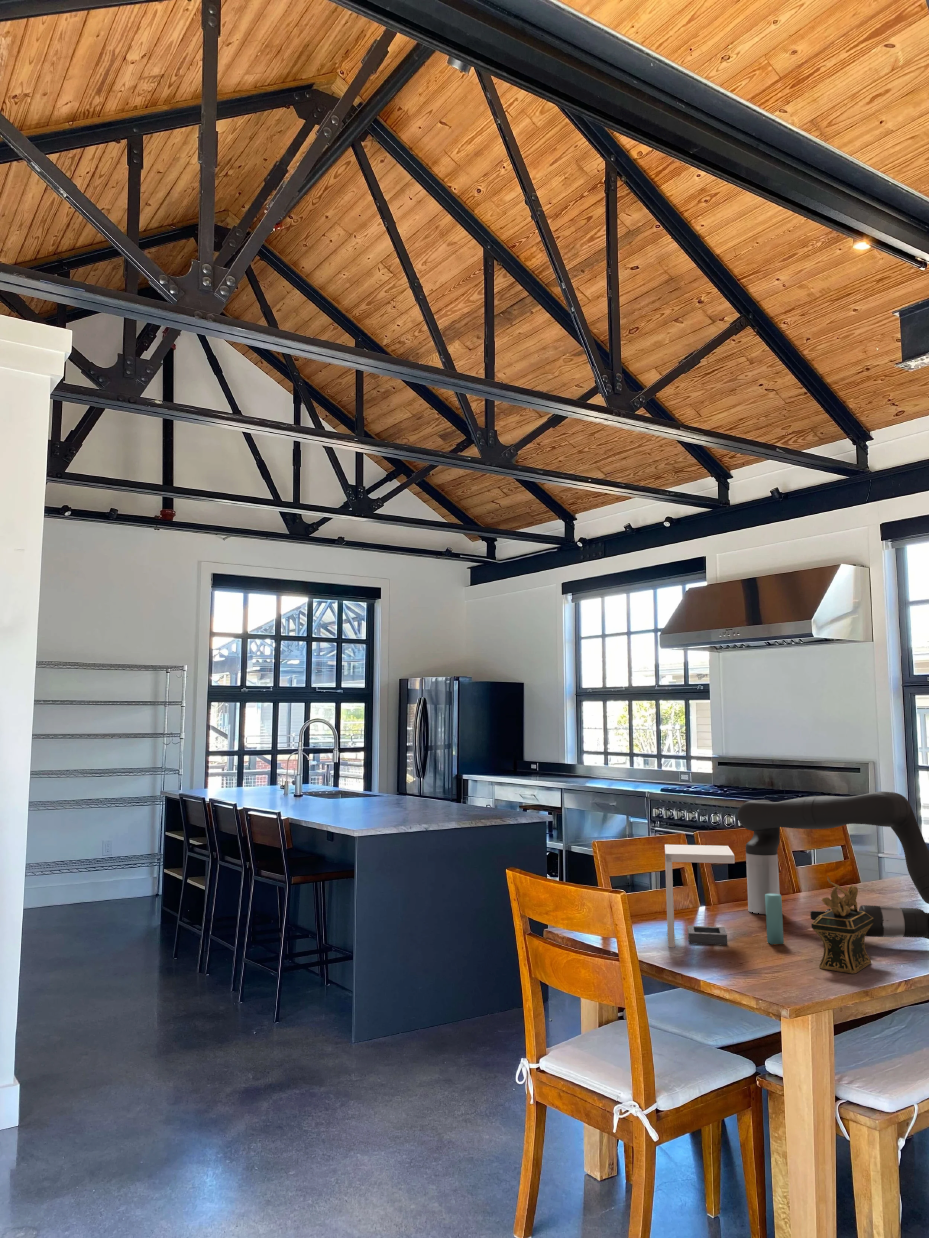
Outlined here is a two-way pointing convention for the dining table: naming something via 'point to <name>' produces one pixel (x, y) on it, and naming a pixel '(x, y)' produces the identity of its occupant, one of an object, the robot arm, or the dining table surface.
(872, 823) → the robot arm
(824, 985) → the dining table surface
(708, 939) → the socket
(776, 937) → the peg
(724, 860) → the white inverted l bracket
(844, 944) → the decorative box
